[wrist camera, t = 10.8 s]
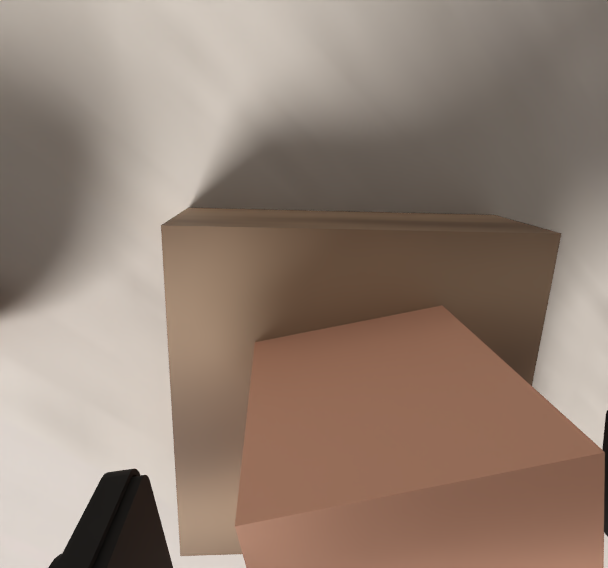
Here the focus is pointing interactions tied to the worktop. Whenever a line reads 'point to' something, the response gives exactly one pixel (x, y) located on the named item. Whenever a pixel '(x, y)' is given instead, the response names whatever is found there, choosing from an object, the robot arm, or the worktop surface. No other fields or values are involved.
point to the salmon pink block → (410, 455)
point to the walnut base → (320, 314)
